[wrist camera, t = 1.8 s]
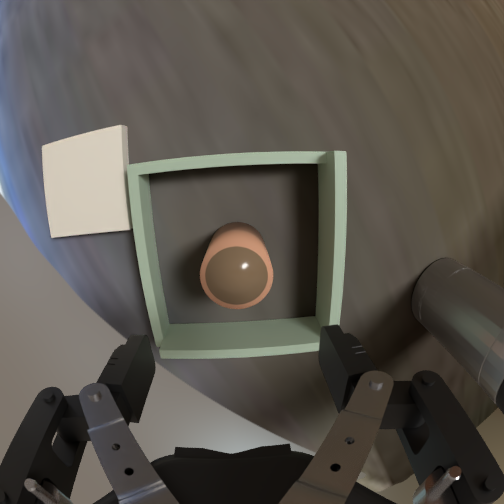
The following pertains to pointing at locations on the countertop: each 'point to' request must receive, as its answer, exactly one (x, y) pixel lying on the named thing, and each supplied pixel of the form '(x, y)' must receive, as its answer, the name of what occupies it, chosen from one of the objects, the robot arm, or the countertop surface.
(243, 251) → the terracotta pot
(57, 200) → the cream tile
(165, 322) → the frame
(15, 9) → the countertop surface
